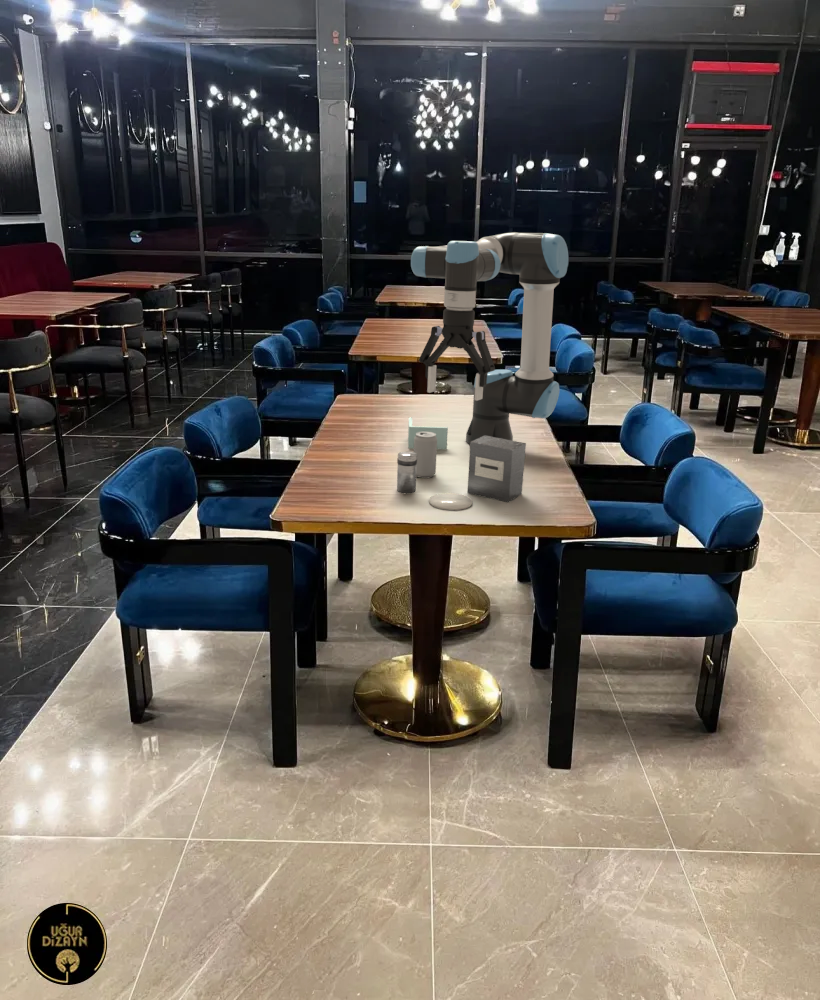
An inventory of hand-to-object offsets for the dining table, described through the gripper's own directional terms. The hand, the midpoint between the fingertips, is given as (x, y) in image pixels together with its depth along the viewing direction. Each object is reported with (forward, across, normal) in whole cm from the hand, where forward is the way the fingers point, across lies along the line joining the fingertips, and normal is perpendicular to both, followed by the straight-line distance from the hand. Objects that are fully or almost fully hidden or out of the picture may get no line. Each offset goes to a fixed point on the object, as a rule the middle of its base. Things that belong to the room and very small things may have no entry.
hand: (454, 395), depth 195 cm
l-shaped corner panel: (+27, -31, +38) cm, 56 cm away
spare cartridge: (+26, -11, -4) cm, 29 cm away
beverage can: (+27, -14, +10) cm, 32 cm away
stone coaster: (+26, +3, -4) cm, 27 cm away
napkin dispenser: (+26, +9, +9) cm, 29 cm away
